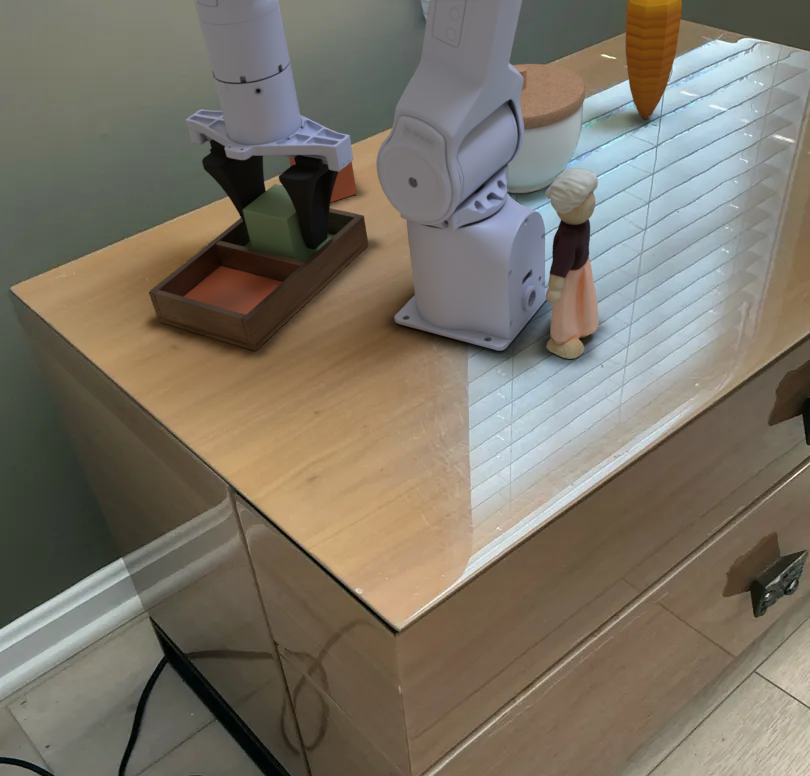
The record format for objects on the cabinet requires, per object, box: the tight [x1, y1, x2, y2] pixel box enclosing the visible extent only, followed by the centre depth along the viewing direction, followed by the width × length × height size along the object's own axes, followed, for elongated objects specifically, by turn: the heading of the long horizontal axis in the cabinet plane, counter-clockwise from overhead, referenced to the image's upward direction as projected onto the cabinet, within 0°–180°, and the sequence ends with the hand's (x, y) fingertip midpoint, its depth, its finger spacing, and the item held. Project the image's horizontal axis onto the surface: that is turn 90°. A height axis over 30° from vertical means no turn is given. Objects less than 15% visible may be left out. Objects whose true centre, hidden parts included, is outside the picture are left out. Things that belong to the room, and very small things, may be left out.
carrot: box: [625, 0, 683, 120], centre depth 85 cm, size 5×5×15 cm
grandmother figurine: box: [544, 167, 600, 360], centre depth 65 cm, size 8×4×13 cm, turn 168°
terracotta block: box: [288, 128, 358, 203], centre depth 86 cm, size 4×4×4 cm
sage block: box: [243, 183, 328, 262], centre depth 78 cm, size 4×4×4 cm
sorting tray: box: [148, 207, 369, 351], centre depth 78 cm, size 10×16×3 cm, turn 149°
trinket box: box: [507, 63, 586, 194], centre depth 82 cm, size 11×11×9 cm
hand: (288, 236), depth 79 cm, fingers open, 5 cm apart
